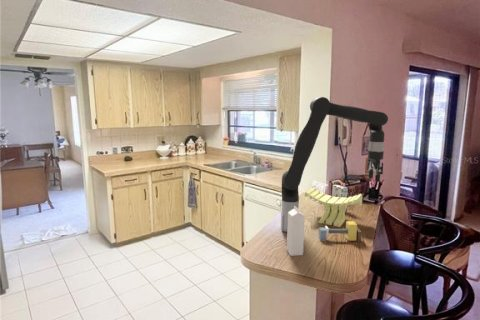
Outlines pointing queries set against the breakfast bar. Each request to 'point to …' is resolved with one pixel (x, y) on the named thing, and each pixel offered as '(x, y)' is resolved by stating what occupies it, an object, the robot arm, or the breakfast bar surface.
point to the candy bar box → (339, 192)
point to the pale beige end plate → (327, 230)
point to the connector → (322, 234)
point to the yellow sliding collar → (351, 230)
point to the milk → (295, 232)
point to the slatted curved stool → (333, 206)
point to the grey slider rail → (339, 231)
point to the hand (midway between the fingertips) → (373, 179)
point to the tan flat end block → (358, 235)
